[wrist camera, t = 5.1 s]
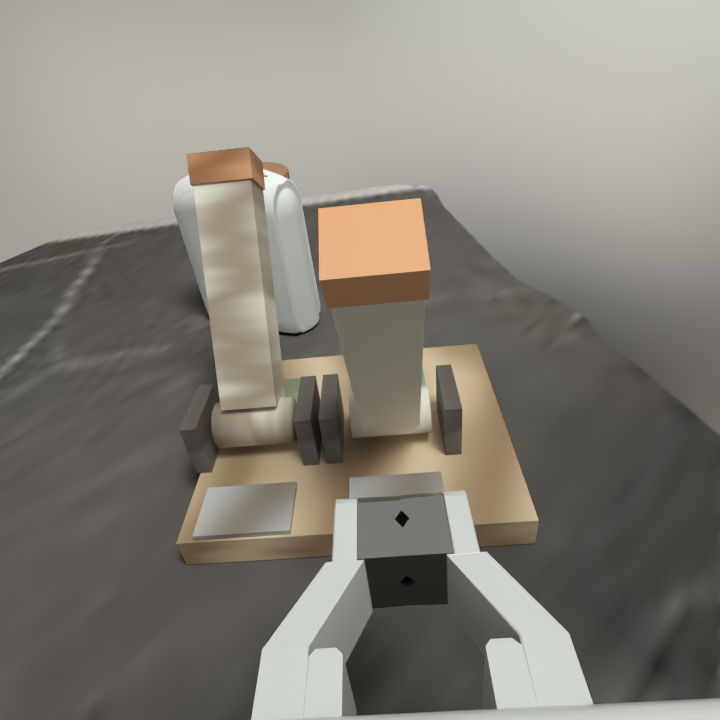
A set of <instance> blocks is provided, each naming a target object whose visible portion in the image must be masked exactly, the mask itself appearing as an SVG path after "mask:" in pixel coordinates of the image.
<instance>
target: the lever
mask: <svg viewBox="0 0 720 720" xmlns="http://www.w3.org/2000/svg"><path fill="white" fill-rule="evenodd" d="M318 212H319V281H320V285H321V288H322V292H323V296H324V299H325V303H326V307H327V309H329V308H331V310H332V314H333V318H334V322H335V325H336V329H337V333H338V337H339V341H340V345H341V349H342V352H343V356H344V360H345V364H346V368H347V372H348V376H349V379H350V383H351V387H352V391H353V392H349V415H350V426H351V433H352V437H353V438H362V437H375V436H389V435H402V434H415V433H428V432H431V430H432V424H431V409H430V399H429V392H428V387H427V386H421V384H422V360H423V337H424V313H425V300H429V289H430V271H431V270H430V262H429V255H428V248H427V241H426V234H425V227H424V219H423V212H422V205H421V198H417V199H407V200H398V201H388V202H378V203H369V204H359V205H349V206H339V207H330V208H320V209H318Z"/></svg>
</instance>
